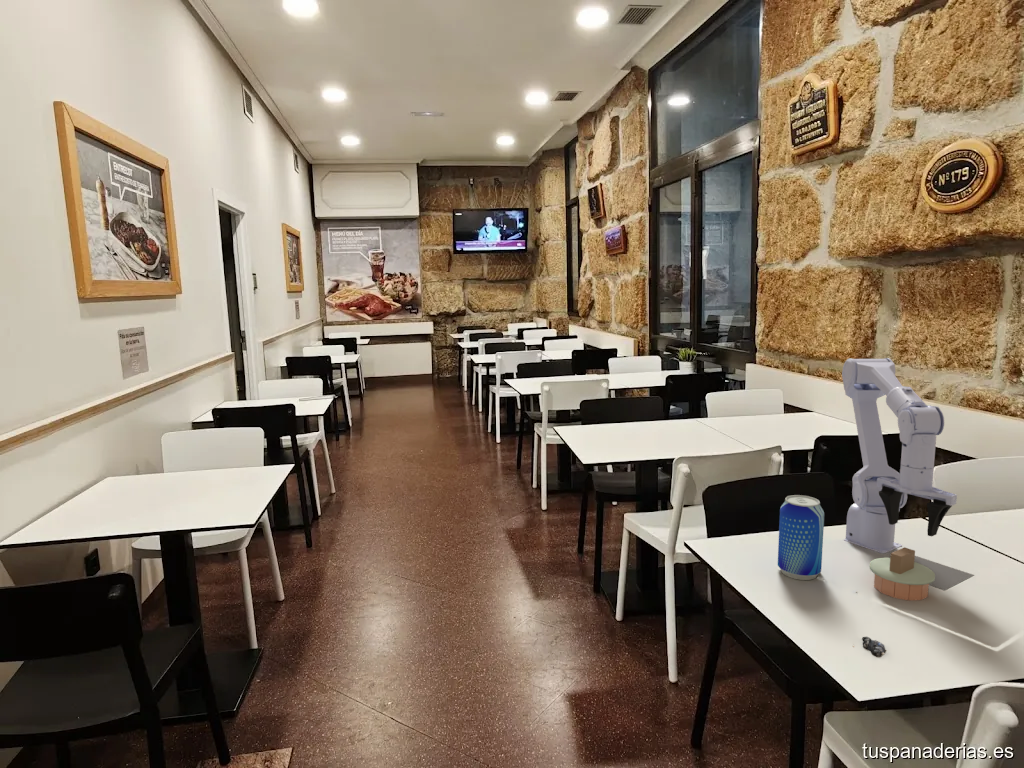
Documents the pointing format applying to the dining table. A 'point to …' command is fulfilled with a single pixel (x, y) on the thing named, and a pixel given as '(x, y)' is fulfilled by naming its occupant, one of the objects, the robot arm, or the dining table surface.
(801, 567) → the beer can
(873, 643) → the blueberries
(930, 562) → the mat
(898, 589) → the bowl
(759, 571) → the dining table surface
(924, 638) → the dining table surface
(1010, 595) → the dining table surface
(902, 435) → the robot arm
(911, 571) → the lid
